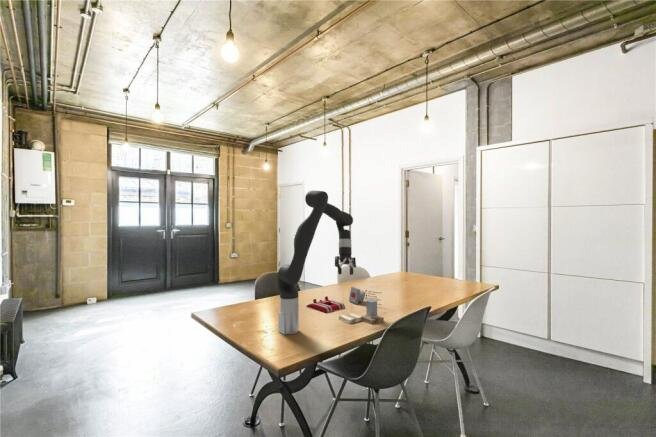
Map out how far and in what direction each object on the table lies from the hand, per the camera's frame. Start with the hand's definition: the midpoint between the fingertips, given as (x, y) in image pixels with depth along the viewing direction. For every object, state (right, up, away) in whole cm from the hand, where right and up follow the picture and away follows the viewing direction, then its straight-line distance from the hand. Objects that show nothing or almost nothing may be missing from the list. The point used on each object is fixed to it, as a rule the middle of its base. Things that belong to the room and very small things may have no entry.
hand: (345, 274), depth 189 cm
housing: (+14, -22, -11) cm, 28 cm away
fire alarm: (-12, -25, +17) cm, 32 cm away
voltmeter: (+14, -24, +23) cm, 36 cm away
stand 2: (+14, -24, -11) cm, 30 cm away
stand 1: (+2, -24, -10) cm, 26 cm away
